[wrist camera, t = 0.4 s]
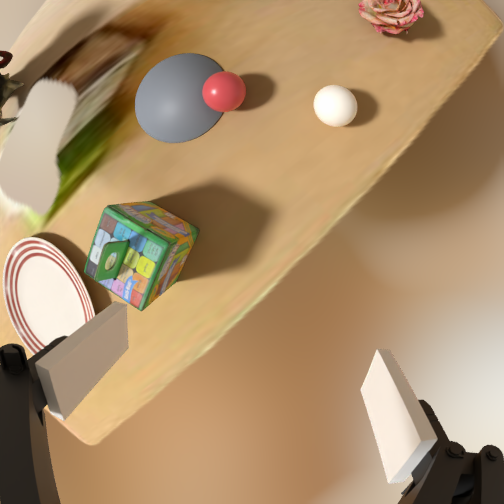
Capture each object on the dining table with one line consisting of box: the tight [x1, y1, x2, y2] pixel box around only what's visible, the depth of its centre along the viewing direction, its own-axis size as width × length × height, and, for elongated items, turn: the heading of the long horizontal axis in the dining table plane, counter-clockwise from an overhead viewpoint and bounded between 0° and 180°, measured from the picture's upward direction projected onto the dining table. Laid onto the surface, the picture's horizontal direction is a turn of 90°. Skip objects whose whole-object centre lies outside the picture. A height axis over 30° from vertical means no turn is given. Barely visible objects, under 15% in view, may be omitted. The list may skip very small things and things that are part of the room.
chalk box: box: [84, 201, 199, 311], centre depth 34 cm, size 9×9×15 cm
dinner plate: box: [3, 237, 95, 355], centre depth 45 cm, size 28×27×3 cm
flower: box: [359, 0, 424, 34], centre depth 27 cm, size 10×9×8 cm
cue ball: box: [314, 85, 357, 127], centre depth 32 cm, size 6×6×6 cm
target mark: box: [135, 53, 223, 143], centre depth 36 cm, size 14×14×1 cm
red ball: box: [202, 71, 246, 112], centre depth 33 cm, size 6×6×6 cm
